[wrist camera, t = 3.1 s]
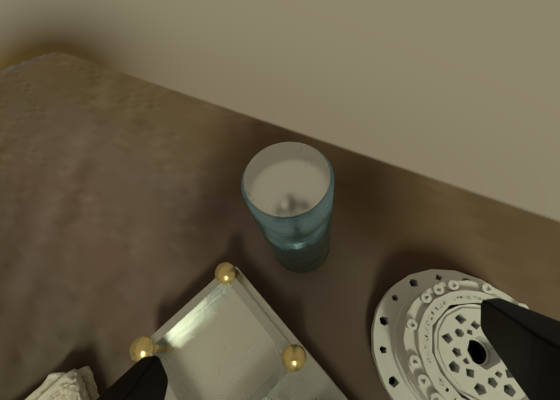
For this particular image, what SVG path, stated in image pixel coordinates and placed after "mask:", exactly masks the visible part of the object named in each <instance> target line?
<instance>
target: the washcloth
mask: <svg viewBox="0 0 560 400" xmlns="http://www.w3.org/2000/svg"><path fill="white" fill-rule="evenodd" d="M99 397H100V396H99V394H98V391H97V385H96V383H95V381H94V376H93V372H92V371H91V369H90V367H89V366H85V367H82V368H80V369H78V370H77V369H73V370H71V371H69V372H67V373H64V372H59V373H51V374H49V375H48V377H47V379H46V380H45V381H44V383H43V384H42V385H41V386H40V387H39V388H38V389H36V390H35V391H34V392H33V393H32V394H30V395H29V396H28V397H27V398H26V399H25V400H96V399H97V398H99Z"/></svg>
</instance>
